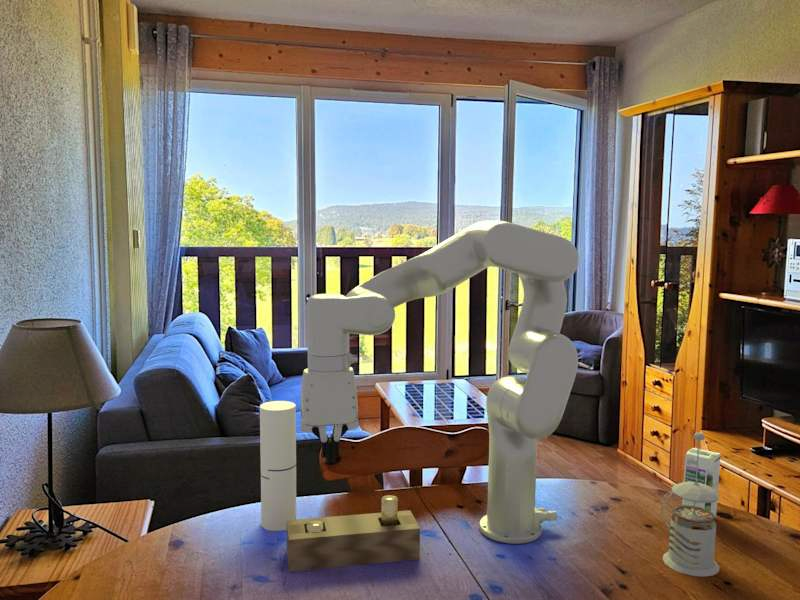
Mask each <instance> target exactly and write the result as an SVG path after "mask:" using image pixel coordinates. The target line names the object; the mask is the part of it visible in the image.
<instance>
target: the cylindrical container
mask: <svg viewBox="0 0 800 600" xmlns="http://www.w3.org/2000/svg"><path fill="white" fill-rule="evenodd" d="M296 407H297V405H296V403H294V402H293V401H288V400H273V401H267V402H263V403H261V404H260V405H259V433H260V434H259V436H260V437H259V441H260V445H259V450H260V453H259V455H260V456H259V457H260V511H261V512H260V513H261V514H260V515H261V516H260V520H261V521H260V522H261V524H260V525H261V527H262V528H263V529H265V530H266V531H271V532H281V531H282V532H283V531H287V520H297V431H296V429H297V422H296V421H297V416H296V414H297V408H296Z"/></svg>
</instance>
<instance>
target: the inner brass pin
mask: <svg viewBox="0 0 800 600" xmlns="http://www.w3.org/2000/svg"><path fill="white" fill-rule="evenodd" d="M398 501H399V499H398V497H397V496H395V495H392V494H391V495H390V494H388V495H387V494H386V495H384V496H382V497H381V512H380V513H381V526H393V525H397V511H398Z"/></svg>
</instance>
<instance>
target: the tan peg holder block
mask: <svg viewBox="0 0 800 600" xmlns="http://www.w3.org/2000/svg"><path fill="white" fill-rule="evenodd" d="M381 513H382V512H373V513H362V514H361V513H360V514H348V515H336V516H335V515H334V516H324V517H321V516H320V517H310V518H299V519H298V518H296V520H287V530H286V555H287V564H288V571H289V573H291V572H299V571H311V570H321V569H329V568H330V569H331V568H332V569H333V568H342V567H341V566H343V567H349V566H348V565H353V566H361V565H362V564H363V565H371V564H372V565H373V563H374V564H381V563H382V564H383V563H393V562H402V561H403V562H404V561H412V560H420V558H421V557H420V551H421V527H420V526H419V524H418V522H417V520H416V518H415V516H414V514H413V513H412V511H411V510H410V509H409V510H397V525H393V526H381ZM311 521H321V522H322V523H323V532H311V533H307V523H308V522H311ZM370 563H371V564H370Z"/></svg>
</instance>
